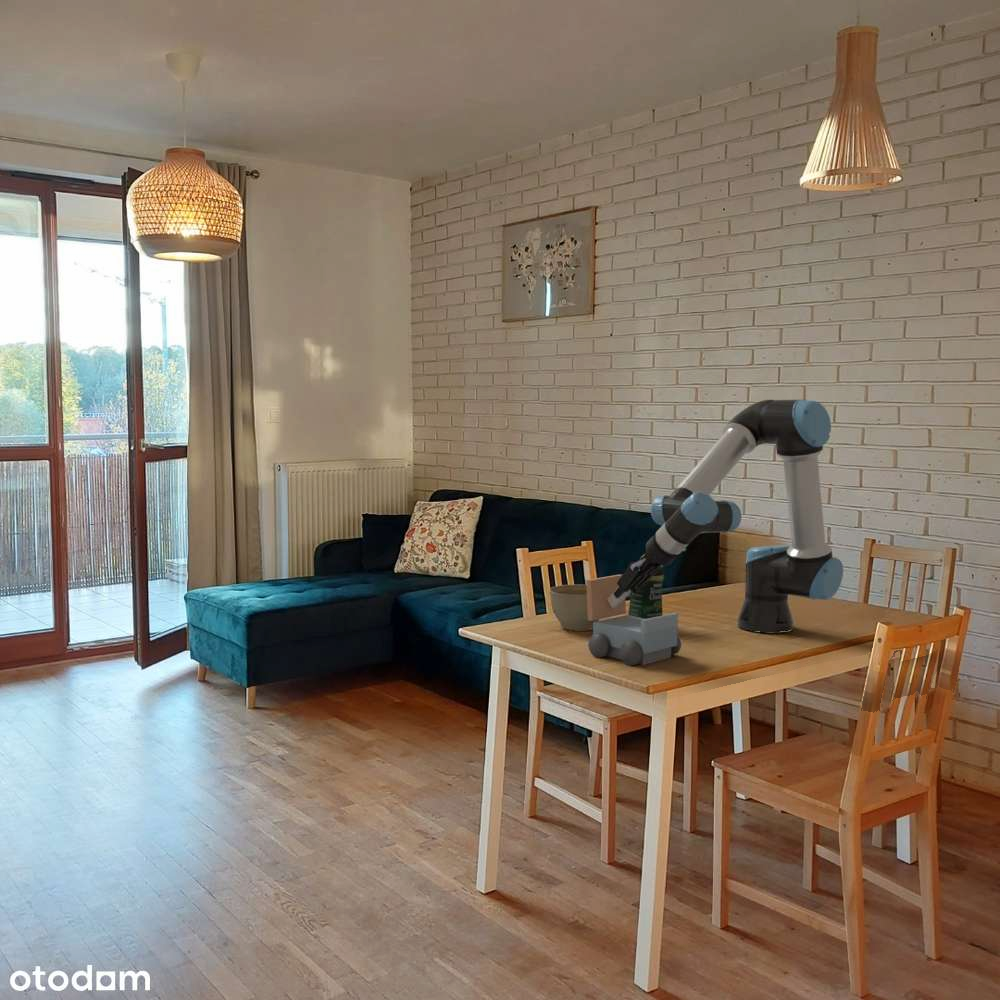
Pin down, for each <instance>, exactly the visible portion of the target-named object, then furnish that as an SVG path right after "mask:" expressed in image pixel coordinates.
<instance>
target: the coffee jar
mask: <svg viewBox="0 0 1000 1000" xmlns="http://www.w3.org/2000/svg"><path fill="white" fill-rule="evenodd" d="M664 579H665V567H663V568H662V569H660V570H659V571H658V572H657V573H656V574H655V575H654V576H652V577H651V578H650V579H649V580H648V581H647V582H646V583H644V584H643V585H642V586H641V587H640V588H636V591H637V592H635V593H633V591H632V590H631V592H630V598H629V604H628V605H629V607H628V614H627V615H629V616H634V617H639V618H643V619H648V618H652V617H657V616H661V615H664V614H663V593H662V592H663V591H662V590H663V582H664Z"/></svg>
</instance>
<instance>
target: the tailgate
mask: <svg viewBox="0 0 1000 1000" xmlns="http://www.w3.org/2000/svg"><path fill="white" fill-rule="evenodd" d="M622 575H623V574H614V575H609V576H603V577H596V578H591V579H585V582H586V583H585V585H586V587H587V610H588V620H592V621H593V620H597V619H599V620H601V619H602V620H603V619H608V618H610V617H611V618H613V617H618V616H620V615H621V616H622V615H624V614H625V615H626V613H627V610H626V609H627V606H626V605H627V604H626V598H625V599H624V600H623V601H622V602H621V603H620V604H619V605H618V606H617V607H615V608H612V606H611V605H610V603H609V602H608V600H607V599H608V598H609V596H610V595H611V594H612V593H613V592H614V591H615V590H616V589H617V588H618V587H619V586H618V584H617V582H618V580H619V579H620V578H621V576H622Z"/></svg>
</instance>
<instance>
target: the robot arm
mask: <svg viewBox="0 0 1000 1000" xmlns="http://www.w3.org/2000/svg"><path fill="white" fill-rule="evenodd" d="M831 431H832V423H831V418H830V416H829V412H828V411H827V409H826V408H825V406H823V404H822V403H820V402H818V401H816V400H807V399H764V400H760V401H757V402H755V403H753V404H751V405H749V406H747V407H746V408H744V409H742V410H741V411H740V412H738V414H736V415H735V416H734V417H733V418H732V419H730V421H729V422H728V423H727V424H725V426H724V428H723V430H722V435H721V436H720V437H719V439H718V440H717V441H716V442H715V443H714V444H713V445H712V447H711V448H710V449H709V450H708V451H707V453H706V454H705V455H704V456H703V457H702V458H701V459H700V461H699V462H698V463H697V464H696V465H695V466H694V467H693V469H692V470H690V472H689V473H688V474H687V475H686V476H685V478H684V479H683V480H682V481H681V482H680V483H679V485H677V487H676V488H675V489H674V490H673V491H672V492H671V493H670V495H659V496H657V497H655V498H654V500H653V501H652V503H651V507H650V515H651V518H652V520H653V522H654V523H655V524H657V525H660V528H659V529H657V531H656V532H655V533H654V534H653V535H652V536H651V537H650V539H649V540H648V541H646V544H645V553H643V554H642V555H641V556H640V557H639V560H637V561H636V562H635V561H634V560H631V561H630V562H629V563H628V566H627V567H626V569H625V571H624V572H623V573H622V574H621V575H622V576H621V578H620V579H619V580H618V582H617V584H618V586H619V587H618V588H617V589H616V590H615V591H614V592H613V593H612V594H611V595H610V596H609V598H608V599H607V600H608V602H609V603H610V605H611V606H612V608H615V607H617V606H618V605H619V604H620V603H621V602H622V601H623V600H624V599H625V600H626V598H627V596H629V594H631V590H632V591H633V593H635V592H637V591H636V588H640V587H641V586H642V585H643V584H644V583H646V582H647V581H648V580H649V579H650V578H651V577H652V576H654V575H655V574H656V573H657V572H658V571H659V570H660V569H662V568H663V567H664V568H665V567H667V566H668V565H671V564H672V563H673V562H674V560H676V559H677V557H678V556H679V554H681V553H682V552H685V551H686V550H687V548H686V547H688V546H689V544H691V543H692V542H693V541H694V540H695V538H696V537H698V536H699V535H700V534H710V533H723V534H725V533H727V532H733V531H735V530H736V529H737V528H738V527H739V526H740V524H741V522H742V512H741V509H740V507H739V506H738V504H737V503H736V502H733V501H730V500H714V498H713V497H712V496H710V495H711V494H713V492H714V491H715V490H716V488H717V487H718V486H719V485H720V484H721V483H722V481H723V480H724V479H725V478H726V477H727V475H728V474H730V472H731V471H732V469H733V468H735V466H736V465H737V463H738V462H740V461H741V459H742V458H743V457H744V456H745V454H749V453H751V452H753V451H754V450H755V449H756V447H758V446H760V445H766V444H769V445H775V450H776V451H775V452H776V455H777V456H778V457H780V458H781V459H782V460H783V467H784V479H785V481H784V482H785V488H786V489H785V490H786V491H785V492H786V499H787V512H788V522H789V531H790V541H791V545H790V546H789V545H786V544H785V545H782V544H781V545H780V544H779V545H778V544H777V545H763V546H754V547H750V548H749V549H748V550H747V552H746V556H745V557H746V559H745V581H744V583H745V585H744V588H745V589H744V601H743V603H742V606H741V608H740V612H739V614H738V617H737V625H738V626H737V628H739V627H740V628H739V629H741V628H742V629H741V630H744V629H746V630H745V631H747V630H751V631H750V632H752V631H760V632H780V631H788V630H791V629H793V630H794V619H793V616H792V612H791V609H790V605H789V601H788V600H789V596H794V597H800V598H805V599H810V600H820V601H827V600H829V599H831V598H833V597H834V596H835V595H836V594H837V592H838V590H839V588H840V586H841V583H842V581H843V575H844V566H843V563H842V561H841V560H840V559H839V558H837V557H834V556H833V548H832V546H831V545H830V544H828V543H827V542H826V537H825V525H824V514H823V512H824V511H823V502H822V492H821V480H820V478H821V477H820V469H819V467H820V466H819V458H818V457H819V455H821V453H822V451H824V447H823V446H825V445H826V444H827V442H828V441H829V439H830V434H831ZM760 632H759V633H760Z"/></svg>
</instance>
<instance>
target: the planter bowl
mask: <svg viewBox="0 0 1000 1000" xmlns="http://www.w3.org/2000/svg"><path fill="white" fill-rule="evenodd" d="M548 590H549V596H550V599H549V601H550V604H551V609H552V612H553V614H554V616H555V617H556V619H557V620H558V621H559V624H560V627H561V628H562V627H563V628H565V629H564V630H566V629H569V630H568V631H572V630H575V631H576V632H585V631H586V632H587V631H592V630H593V622H597V621H600V619H597V620H593V621H592V620H588V610H587V587H586V584H562V585H556V586H552V587H550V588H549V589H548ZM563 628H562V629H563ZM575 631H574V632H575Z"/></svg>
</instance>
